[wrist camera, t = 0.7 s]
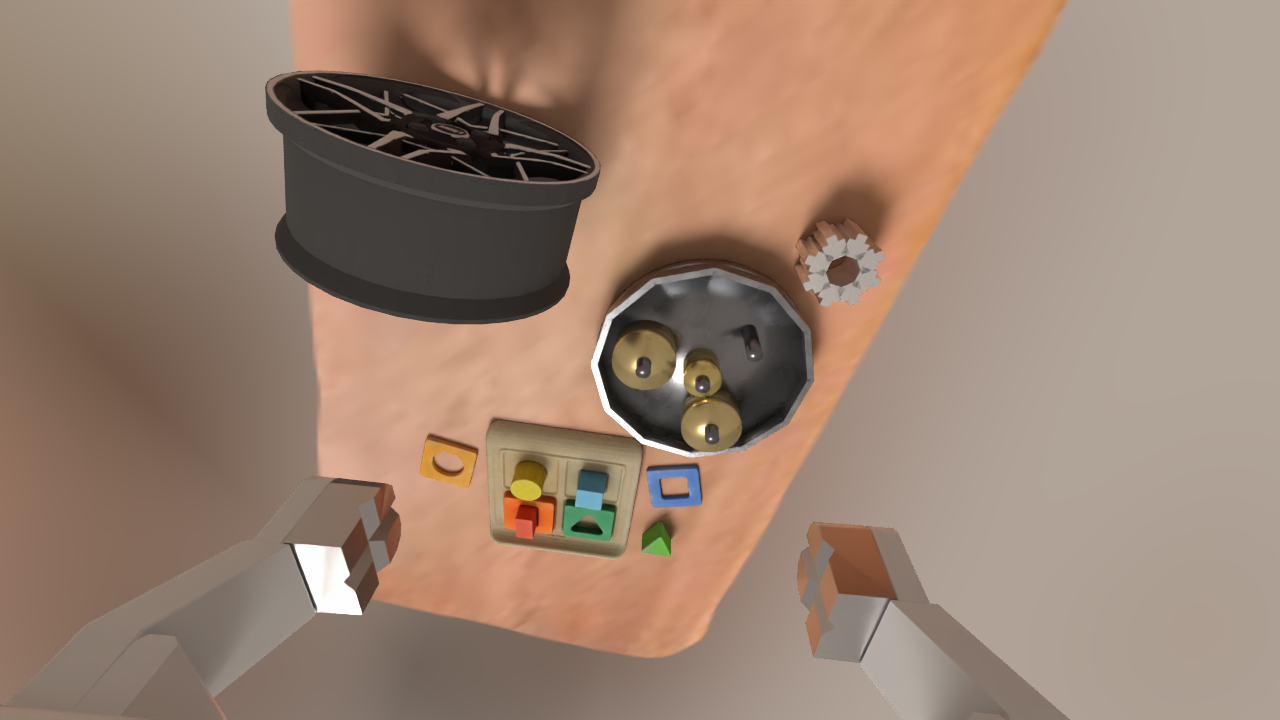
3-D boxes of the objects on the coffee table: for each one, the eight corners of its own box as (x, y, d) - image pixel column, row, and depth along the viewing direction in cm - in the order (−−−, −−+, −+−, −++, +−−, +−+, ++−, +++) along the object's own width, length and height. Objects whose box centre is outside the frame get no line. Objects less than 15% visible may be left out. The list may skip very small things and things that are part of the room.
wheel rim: (614, 144, 45) (576, 215, 28) (587, 246, 50) (540, 360, 33) (370, 62, 43) (168, 86, 26) (365, 176, 48) (192, 259, 31)
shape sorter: (429, 522, 71) (414, 551, 67) (416, 405, 61) (398, 431, 57) (686, 556, 72) (686, 587, 68) (714, 446, 62) (717, 474, 58)
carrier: (632, 228, 49) (627, 250, 44) (847, 300, 51) (865, 328, 46) (574, 408, 60) (565, 442, 55) (754, 460, 62) (761, 497, 57)
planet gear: (815, 207, 47) (825, 221, 44) (884, 232, 48) (900, 247, 44) (781, 275, 50) (788, 293, 47) (846, 297, 51) (858, 317, 48)
